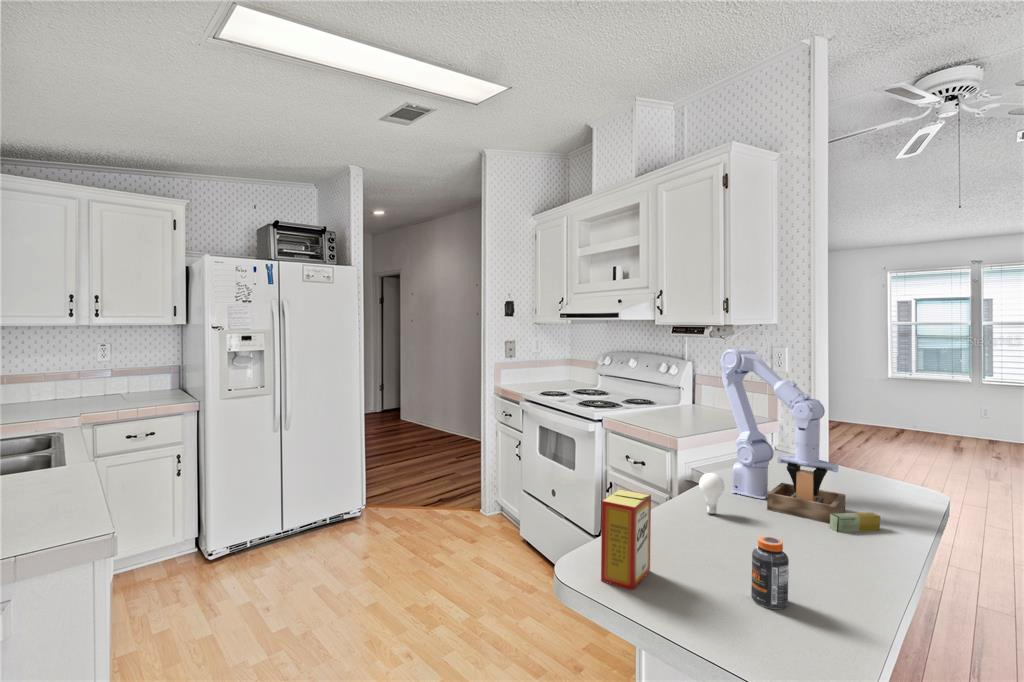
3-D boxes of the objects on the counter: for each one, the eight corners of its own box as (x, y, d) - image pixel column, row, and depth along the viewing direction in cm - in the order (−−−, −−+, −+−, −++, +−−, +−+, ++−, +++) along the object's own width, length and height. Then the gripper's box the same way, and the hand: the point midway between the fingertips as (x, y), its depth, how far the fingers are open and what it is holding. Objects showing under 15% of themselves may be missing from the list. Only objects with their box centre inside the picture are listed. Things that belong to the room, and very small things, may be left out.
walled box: (767, 509, 142) (767, 493, 142) (781, 497, 153) (781, 482, 153) (834, 524, 132) (834, 507, 132) (845, 510, 142) (845, 494, 142)
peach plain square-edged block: (796, 501, 142) (796, 472, 142) (799, 497, 145) (800, 469, 145) (812, 504, 139) (813, 474, 139) (816, 501, 142) (816, 472, 142)
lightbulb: (698, 516, 137) (698, 474, 137) (699, 508, 143) (699, 468, 143) (724, 519, 134) (724, 477, 134) (724, 511, 140) (724, 471, 140)
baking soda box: (633, 590, 97) (634, 505, 97) (601, 581, 101) (601, 499, 101) (649, 571, 105) (650, 492, 105) (619, 563, 109) (620, 487, 108)
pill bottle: (744, 593, 96) (745, 533, 96) (775, 592, 97) (776, 532, 97) (762, 611, 90) (764, 546, 90) (795, 609, 91) (796, 545, 91)
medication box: (836, 533, 127) (837, 517, 127) (828, 528, 129) (829, 512, 129) (880, 531, 128) (881, 515, 128) (871, 526, 131) (872, 511, 131)
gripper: (774, 442, 144) (773, 490, 144) (835, 450, 134) (834, 502, 134) (781, 438, 149) (780, 485, 149) (840, 446, 139) (839, 496, 140)
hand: (806, 493), depth 142 cm, fingers closed on peach plain square-edged block, 4 cm apart
